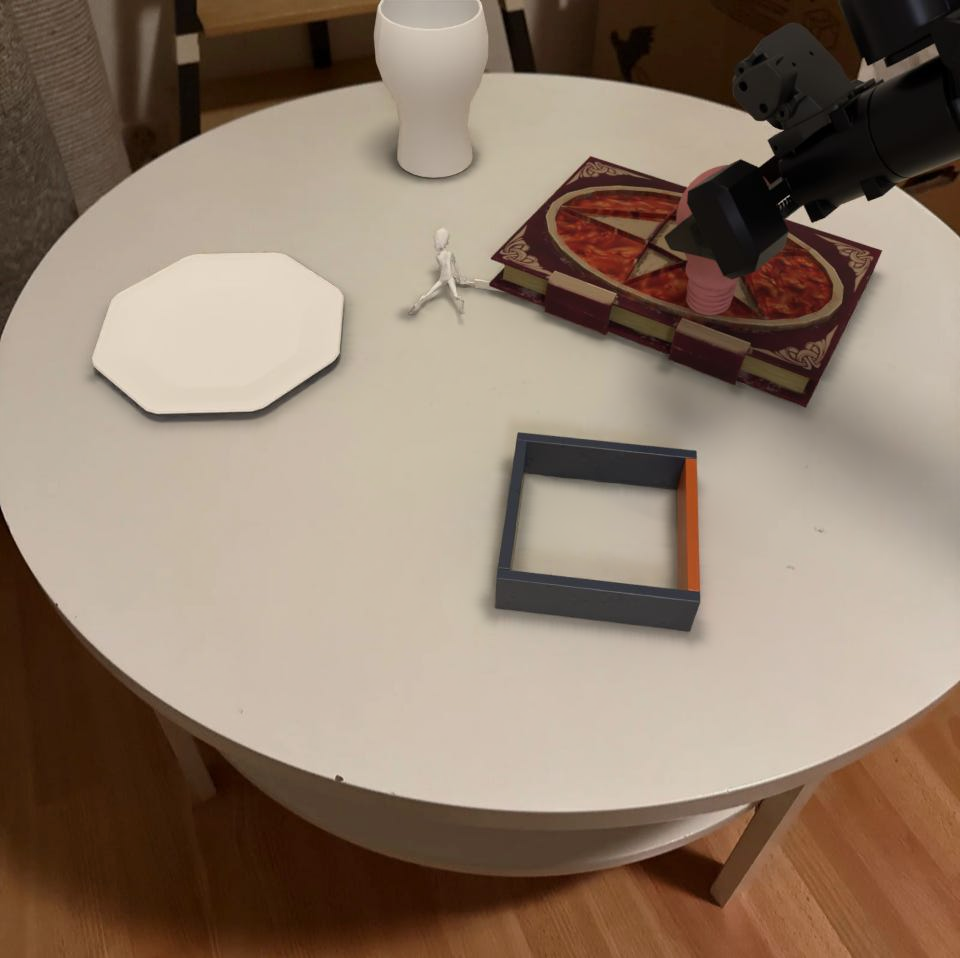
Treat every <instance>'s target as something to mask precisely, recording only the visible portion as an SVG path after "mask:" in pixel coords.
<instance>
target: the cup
mask: <svg viewBox="0 0 960 958" xmlns="http://www.w3.org/2000/svg"><path fill="white" fill-rule="evenodd" d="M483 8H484V7H483V5H482V1H480V0H380V1H379V3H378V5H377V8H376V17H375V23H374V29H373V45H374V54H375V63H376V66H377V69H378V71H379V75H380V77H381V80H382V82H383V85H384V87H385V89H386V90H387V91H388V93H389V96H390V97H391V98H392V100H393V101H394V103H395V107H396V110H397V111H396V112H397V117H398V122H399V130H398V141H397V151H396V152H397V154H396V156H397V157H396V158H397V163H398V164H399V166H400V167H401V168H402V169H403V170H404V171H406V172H408V173H410V174H412V175H415V176H419V177H422V178H430V179H431V178H433V179H434V178H436V179H437V178H446V177H450V176H454V175H456V174H459V173H461V172H463V171H464V170H467V168H468V167H469V166H470V165H471V164H472V161H473V158H474V157H473V148H472V142H471V136H470V131H469V126H468V125H469V118H470V109H471V103H472V101H473V99H474V97H475V95H476V93H477V92H478V90H479V88H480V85H481V83H482V80H483V76H484V73H485V70H486V66H487V63H488V59H489V31H488V27H487V22H486V17H485V12H484V9H483Z"/></svg>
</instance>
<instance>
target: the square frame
mask: <svg viewBox="0 0 960 958" xmlns="http://www.w3.org/2000/svg"><path fill="white" fill-rule="evenodd" d="M511 466H512V467H511V473H510V479H509V480H510V481H509V486H508V487H509V488H508V494H507V495H508V496H507V499H506V508H505V514H504V521H503V529H502V535H501V540H500V541H501V542H500V549H499V554H498V563H497V570H496V576H495V596H494V609H497V610H504V611H512V612H513V611H514V612H522V613H530V614H531V613H532V614H539V615H545V616H547V615H548V616H555V617H564V618H573V619H582V620H589V621H598V622H606V623H613V624H623V625H630V626H631V625H632V626H640V627H649V628H657V629H658V628H659V629H666V630H674V631H683V632H691V630H692V627H693V625H694V621H695V620H696V616H697V613H698V610H699V607H700V604H701V573H700V572H701V569H700V566H701V565H700V532H699V531H700V529H699V528H700V527H699V493H698V492H699V491H698V487H699V486H698V451H697V450H696V449H695V450H694V449H684V448H674V447H664V446H657V445H656V446H655V445H645V444H638V443H637V444H636V443H626V442H617V441H606V440H600V439H599V440H598V439H587V438H580V437H579V438H578V437H577V438H576V437H570V436H569V437H568V436H558V435H548V434H541V433H540V434H539V433H538V434H537V433H530V432H522V431H521V432H520V431H517V433H516V439H515V446H514V453H513V460H512V465H511ZM526 474H530V475H539V476H540V475H541V476H549V477H550V476H551V477H558V478H566V479H576V480H577V479H578V480H586V481H595V482H596V481H597V482H605V483H613V484H614V483H615V484H623V485H632V486H633V485H634V486H643V487H651V488H653V487H654V488H661V489H662V488H663V489H670V490H676V545H677V546H676V547H677V551H676V553H677V554H676V555H677V563H676V565H677V567H676V569H677V571H676V572H677V588H668V587H660V586H651V585H643V584H634V583H627V582H626V583H625V582H617V581H607V580H600V579H591V578H582V577H574V576H573V577H572V576H565V575H556V574H547V573H539V572H530V571H521V570H513V567H514V560H515V554H516V545H517V539H518V538H517V537H518V530H519V521H520V515H521V509H522V500H523V492H524V486H525V478H526Z"/></svg>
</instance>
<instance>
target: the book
mask: <svg viewBox="0 0 960 958" xmlns="http://www.w3.org/2000/svg"><path fill="white" fill-rule="evenodd" d="M687 187H688V186H684V185H683V184H682V185H681V184H679V183H675V182H672V181H669V180H666V179H664V178H660V177H657V176H654V175H651V174H647V173H644V172H641V171H638V170H635V169H632V168H629V167H626V166H624V165H619V164H617V163H613V162H610V161H608V160H605V159H601V158H598V157H595V156H592V155H589V157H588V158H587V159H586V160H585V161H584V162H583V163H582V164H581V165H580V166H579V167H578V168H577V169H576V170H575V171H574V172H572V174H571V175H570V176H569V177H568V178H566V180H565V181H564V182H563V183H562V184H561V185H560V186H559V187H558V188H557V189H556V190H555V191H554V192H553V194H551V195H550V196H549V197H548V198H547V200H545V202H544V203H542V205H541V206H539V208H537V210H535V212H534V213H533V214H532V215H531V216H530V217H529V218H528V219H527V220H526V221H525V222H524V223H523V224H522V225H521V226H520V227H519V228H518V229H517V230H516V231H515V232H514V233H513V234H512V235H511V236H510V237H509V238H508V239H507V240H506V241H505V242H504V243H503V244H502V245H501V246H500V247H499V248H498V249H497V250H496V251H495V252H494V254H492V255H491V257H490V260H492V261H494V262H497V263H499V264H502V265H504V267H503V268H502V269H501V270H500V271H499V272H498V273H497V274H496V275H495V276H494V277H493V279H491V280H490V281H491V282H490V283H489V286H491V287H493V288H496V289H498V290H501V291H504V292H503V293H506V294H508V295H511V296H514V297H516V298H520V299H522V300H525V301H528V302H530V303H532V304H535V305H538V306H540V307H543V312H544V313H547V314H549V315H552V316H555V317H557V318H560V319H562V320H564V321H567V322H570V323H572V324H575V325H578V326H580V327H583V328H586V329H588V330H591V331H593V332H595V333H598V334H600V335H604V336H608V333H610V334H613V335H616V336H618V337H620V338H623V339H625V340H628V341H631V342H634V343H637V344H639V345H641V346H644V347H647V348H648V349H652V350H653V351H654V350H655V351H657V352H660V353H662V354H664V355H668V358H667V360H668V361H671V362H674V363H676V364H679V365H681V366H684V367H687V368H689V369H691V370H694V371H697V372H699V373H701V374H705V375H706V376H710V377H712V378H715V379H717V380H720V381H723V382H725V383H728V384H731V385H733V386H735V385H737V383H740V384H743V385H746V386H748V387H751V388H753V389H756V390H758V391H761V392H762V393H767V394H769V395H772V396H774V397H776V398H778V399H781V400H784V401H787V402H790V403H792V404H794V405H798V406H799V407H803V408H805V409H806V408H807V407H808V405H809V403H810V401H811V398H812V397H813V395H814V392H815V391H816V389H817V387H818V385H819V383H820V381H821V379H822V377H823V375H824V373H825V371H826V369H827V366H828V364H829V363H830V361H831V358H832V356H833V355H834V352H835V350H836V348H837V346H838V344H839V342H840V340H841V339H842V336H843V334H844V332H845V330H846V329H847V326H848V324H849V322H850V321H851V318H852V316H853V314H854V312H855V309H856V308H857V306H858V303H859V302H860V299H861V297H862V295H863V293H864V292H865V290H866V287H867V285H868V283H869V281H870V279H871V278H872V275H873V273H874V271H875V269H876V266H877V265H878V261H879V260H880V257H881V255H882V252H883V250H882V249H880V248H876V247H873V246H870V245H867V244H864V243H860V242H858V241H855V240H852V239H848V238H845V237H842V236H839V235H836V234H833V233H830V232H828V231H827V232H826V231H824V230H820V229H817V228H814V227H811V226H809V225H805V224H802V223H799V222H796V221H792V220H789V219H788V218H786V219H785V220H784V221H785V223H786V225H787V228H788V230H789V233H788V236H787V240H786V243H785V246H784V249H782V250H781V251H780V252H779V253H777V254H776V255H775V256H774V257H772V258H771V259H770V260H769V261H767V262H766V263H765V264H764V265H763V266H761V267H760V268H759V269H758V270H756V271H755V272H753V273H750V274H747V275H744V276H741V277H739V279H738V281H737V282H736V288H735V293H734V295H733V298H732V300H731V304H730V306H729V308H728V309H727V310H726V311H724V312H722V313H719V314H716V315H705V314H701V313H698V312H696V311H694V310H693V309H691V308H690V307H689V305H688V304H687V301H686V296H687V286H688V281H689V278H688V276H687V274H686V265H687V262H688V260H687V258H686V255H685V253H683V252H678V251H674V250H671V249H670V248H669V246H668V244H667V242H666V241H665V238H664V237H665V235H666V234H667V233H669V232H670V231H671V230H672V229H674V228H675V227H676V226H677V223H676V216H677V209H678V205H679V202H680V200H681V197H682V195H683V193H684V192H685V190H686V189H687Z"/></svg>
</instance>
